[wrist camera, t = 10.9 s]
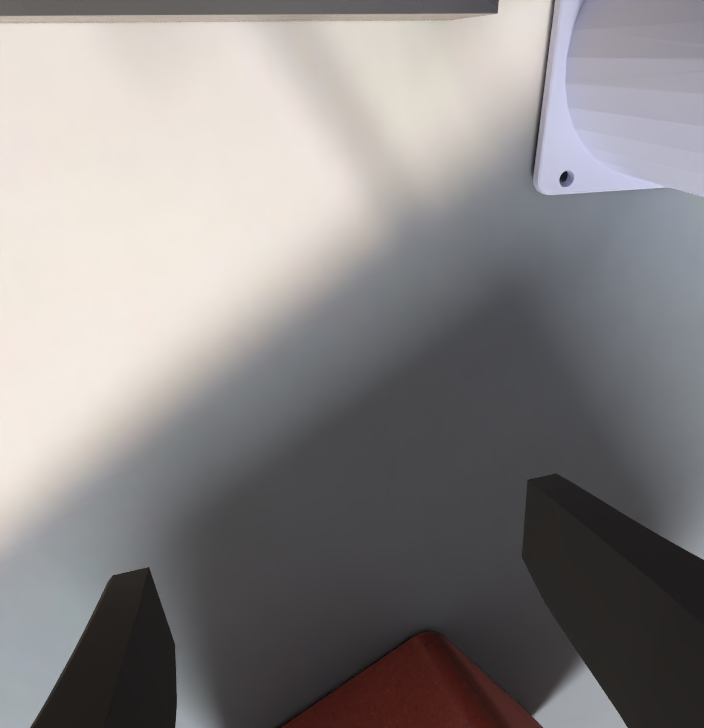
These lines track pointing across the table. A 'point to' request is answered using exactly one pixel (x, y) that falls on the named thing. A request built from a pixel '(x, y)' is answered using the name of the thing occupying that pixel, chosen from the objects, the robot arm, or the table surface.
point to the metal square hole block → (238, 10)
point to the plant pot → (418, 693)
